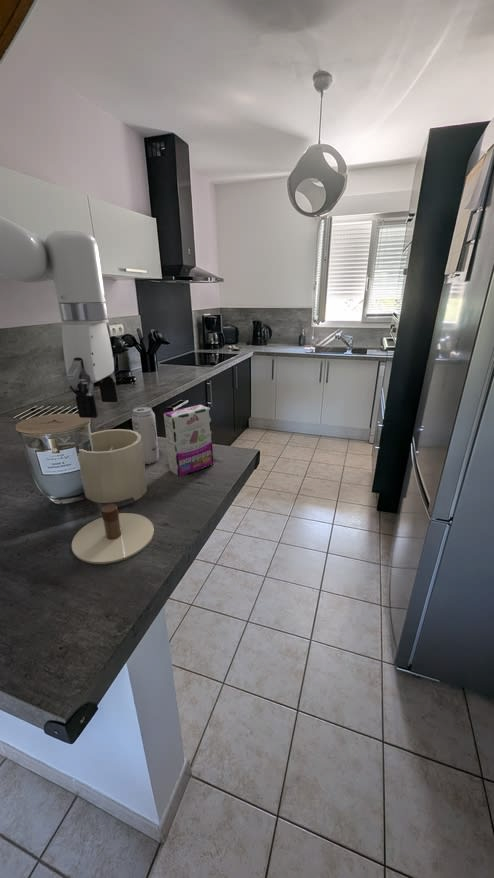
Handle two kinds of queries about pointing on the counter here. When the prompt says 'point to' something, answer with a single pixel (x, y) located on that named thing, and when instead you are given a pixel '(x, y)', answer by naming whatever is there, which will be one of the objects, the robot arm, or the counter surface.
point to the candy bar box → (189, 439)
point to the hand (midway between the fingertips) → (100, 408)
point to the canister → (113, 467)
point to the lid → (112, 537)
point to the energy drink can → (146, 432)
